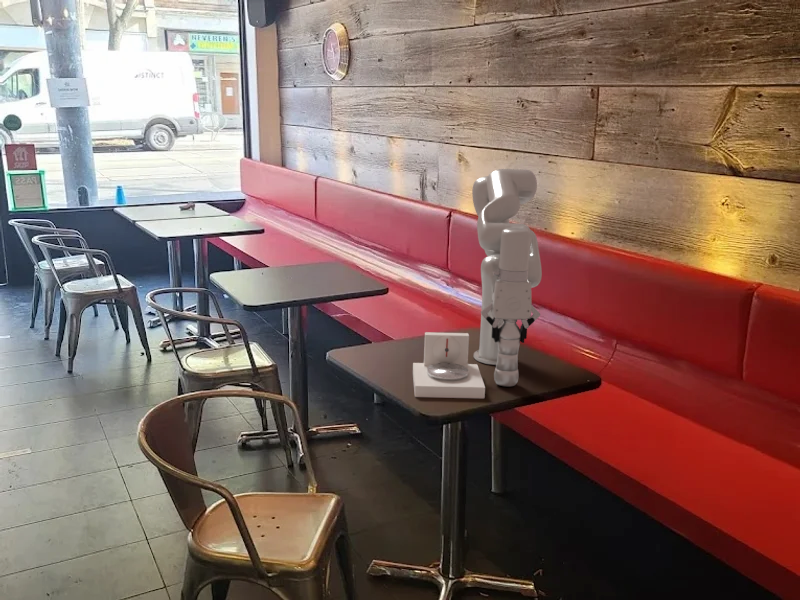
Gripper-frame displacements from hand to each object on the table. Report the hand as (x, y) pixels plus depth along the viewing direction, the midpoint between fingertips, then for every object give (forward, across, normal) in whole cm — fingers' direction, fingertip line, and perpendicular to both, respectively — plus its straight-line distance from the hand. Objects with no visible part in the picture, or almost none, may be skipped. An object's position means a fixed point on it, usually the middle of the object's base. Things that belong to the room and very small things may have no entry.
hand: (508, 340), depth 200 cm
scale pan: (+9, -16, -1) cm, 19 cm away
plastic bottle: (+13, 0, 0) cm, 13 cm away
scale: (+13, -16, -1) cm, 20 cm away
